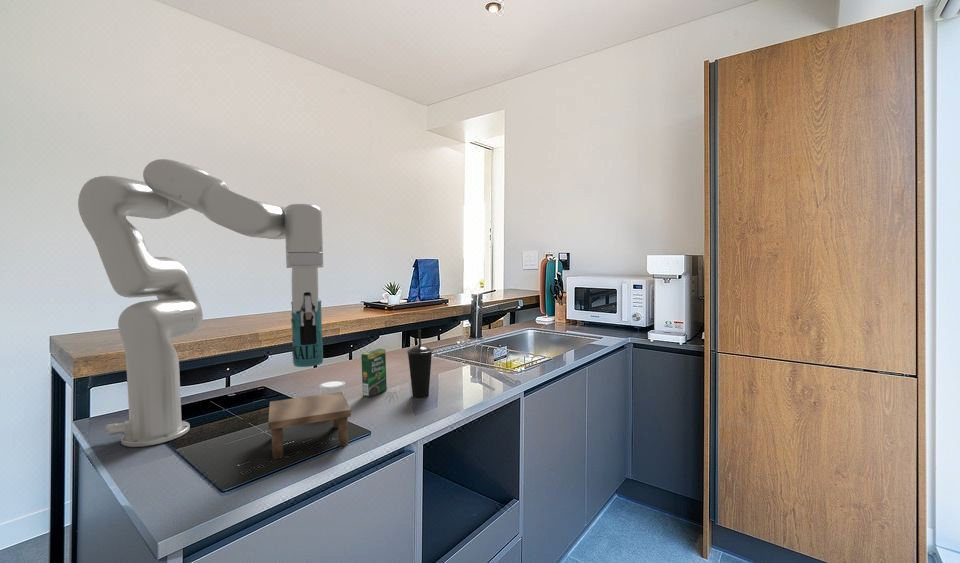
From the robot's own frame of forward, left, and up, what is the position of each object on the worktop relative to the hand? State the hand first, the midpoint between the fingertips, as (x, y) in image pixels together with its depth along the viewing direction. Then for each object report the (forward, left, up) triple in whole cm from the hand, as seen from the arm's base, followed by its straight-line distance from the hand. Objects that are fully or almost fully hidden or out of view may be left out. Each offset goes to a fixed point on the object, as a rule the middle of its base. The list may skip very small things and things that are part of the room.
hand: (307, 340), depth 92 cm
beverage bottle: (0, 0, -7) cm, 7 cm away
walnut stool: (0, 0, -23) cm, 23 cm away
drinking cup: (+32, +19, -23) cm, 44 cm away
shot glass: (+7, +19, -23) cm, 31 cm away
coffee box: (+20, +27, -23) cm, 41 cm away
